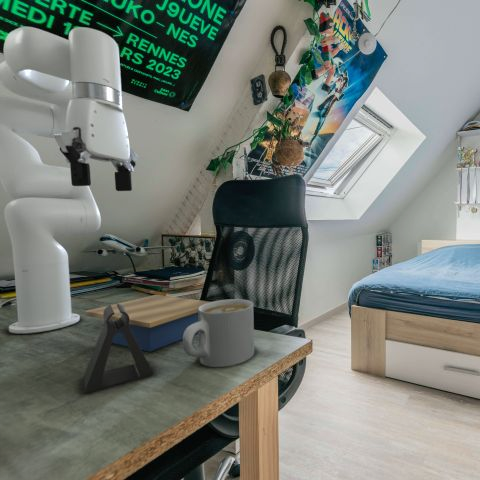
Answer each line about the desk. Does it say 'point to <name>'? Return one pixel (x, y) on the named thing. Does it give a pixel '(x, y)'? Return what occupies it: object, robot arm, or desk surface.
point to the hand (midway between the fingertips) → (104, 188)
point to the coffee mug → (222, 333)
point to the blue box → (158, 333)
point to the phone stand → (95, 370)
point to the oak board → (152, 310)
